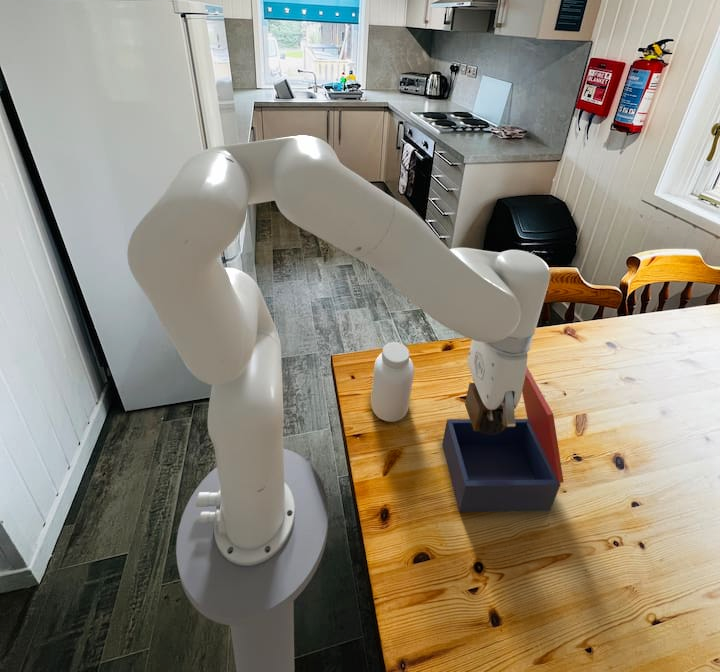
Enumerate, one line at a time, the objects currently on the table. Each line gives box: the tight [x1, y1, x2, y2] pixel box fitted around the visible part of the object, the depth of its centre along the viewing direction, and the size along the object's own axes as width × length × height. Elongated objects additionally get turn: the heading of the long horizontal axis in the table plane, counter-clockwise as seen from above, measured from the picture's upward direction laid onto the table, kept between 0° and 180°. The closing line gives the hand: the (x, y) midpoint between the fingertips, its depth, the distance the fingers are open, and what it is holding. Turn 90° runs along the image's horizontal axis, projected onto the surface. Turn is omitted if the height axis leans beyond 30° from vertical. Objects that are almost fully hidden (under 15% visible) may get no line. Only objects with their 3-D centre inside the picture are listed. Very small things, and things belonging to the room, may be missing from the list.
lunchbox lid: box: [521, 366, 565, 484], centre depth 65 cm, size 16×12×1 cm
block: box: [464, 382, 505, 431], centre depth 65 cm, size 5×5×5 cm
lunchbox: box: [442, 418, 561, 513], centre depth 69 cm, size 16×12×7 cm
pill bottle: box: [370, 341, 415, 423], centre depth 80 cm, size 8×8×15 cm
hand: (484, 415), depth 66 cm, fingers closed on block, 5 cm apart
